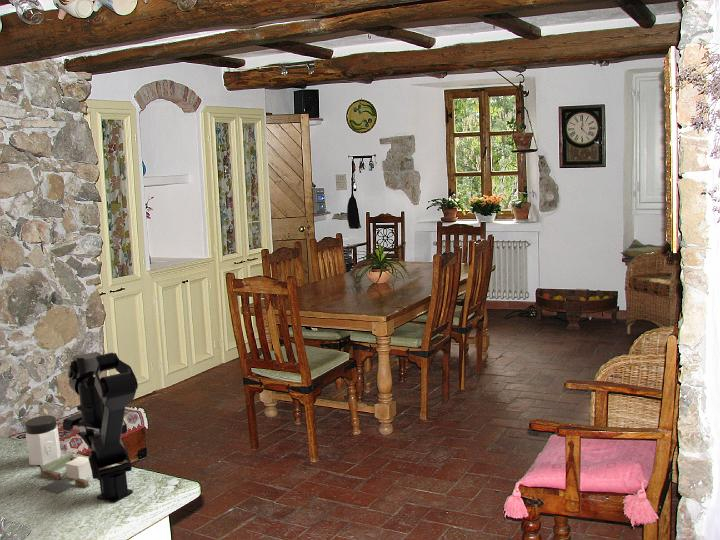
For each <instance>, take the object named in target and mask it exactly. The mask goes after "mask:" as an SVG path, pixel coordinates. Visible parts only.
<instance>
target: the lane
mask: <svg viewBox="0 0 720 540" xmlns="http://www.w3.org/2000/svg"><path fill="white" fill-rule="evenodd" d="M76 458H77V457H76V456H75V457H74V454H73V453H72V452H70V453H68V454H65V455H63V456H60V458H58V459H56V460H54V461H52V462H50V463H47V464H45V465H43V466H40V475H41V476H42V477H46V478H49V479H52V478H53V480H55V481H56V480H58V481H60V480H61V479H62V474H61V472H57V471H58V470H60V469H62V468H64V467H66V465H65V463H67V462H69V461H72V460H74V459H76ZM109 467H113V465H110V466H106V467H103V468H99V470H102V469H106V468H109ZM74 483H75V486H78V487H82V488H88V487H89V486H90V484H89V480H87V479H84V478H83V479H80V478H77V479H74Z"/></svg>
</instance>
